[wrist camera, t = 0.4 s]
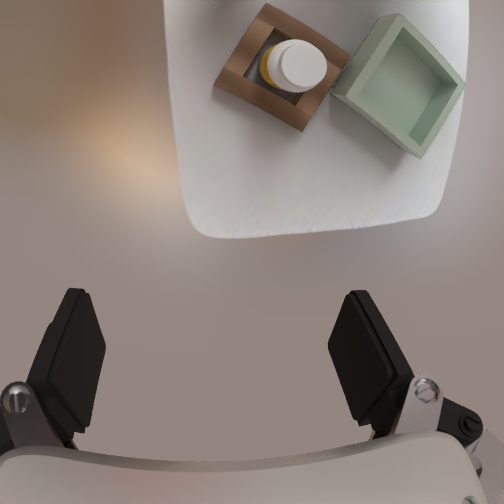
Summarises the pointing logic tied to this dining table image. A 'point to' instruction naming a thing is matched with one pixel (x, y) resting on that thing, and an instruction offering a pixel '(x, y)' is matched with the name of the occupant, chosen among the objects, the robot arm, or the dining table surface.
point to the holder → (264, 98)
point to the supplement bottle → (293, 66)
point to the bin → (400, 84)
